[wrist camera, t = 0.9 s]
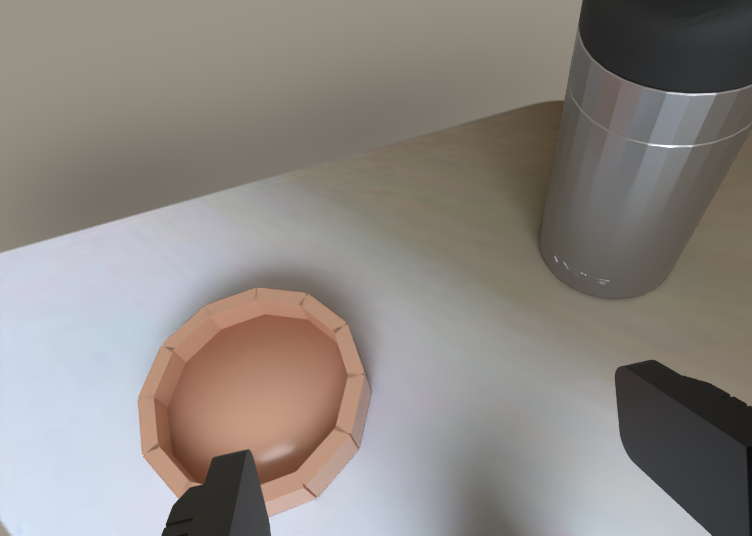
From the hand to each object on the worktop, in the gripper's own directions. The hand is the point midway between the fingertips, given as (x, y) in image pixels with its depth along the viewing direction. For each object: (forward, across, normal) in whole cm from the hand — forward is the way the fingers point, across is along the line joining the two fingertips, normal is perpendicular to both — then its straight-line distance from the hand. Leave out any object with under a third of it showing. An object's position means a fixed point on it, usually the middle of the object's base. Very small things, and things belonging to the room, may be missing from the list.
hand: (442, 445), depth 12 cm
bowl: (+24, +8, +9) cm, 27 cm away
